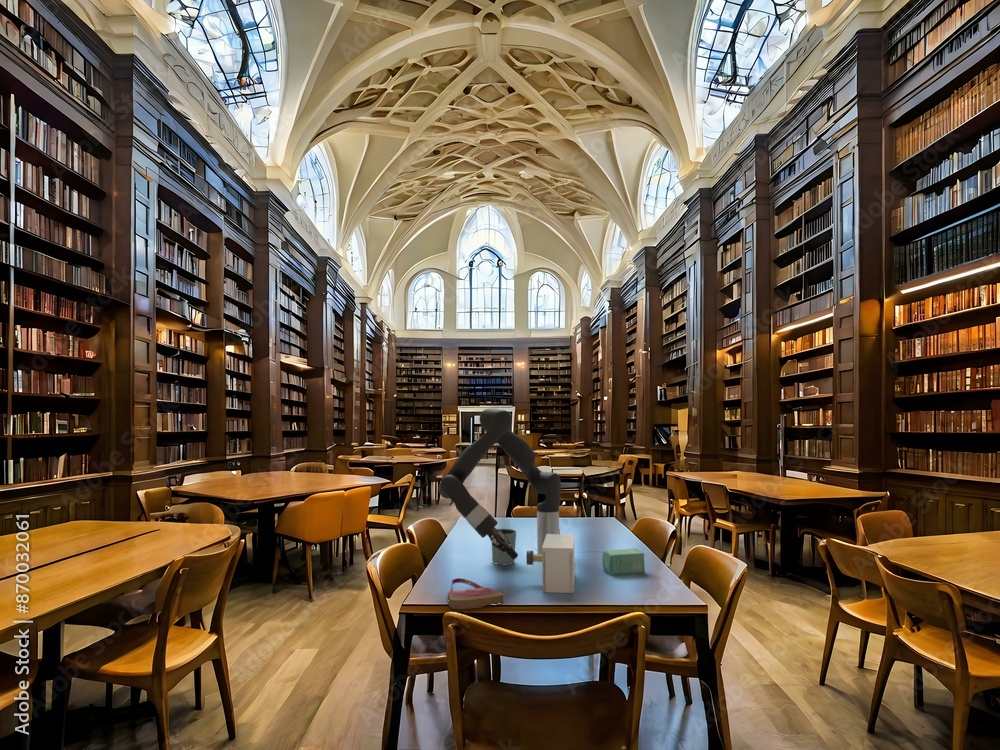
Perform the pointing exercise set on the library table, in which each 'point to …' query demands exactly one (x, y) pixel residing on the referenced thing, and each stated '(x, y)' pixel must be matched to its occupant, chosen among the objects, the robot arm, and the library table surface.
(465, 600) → the shoulder bag
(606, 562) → the box
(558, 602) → the library table surface
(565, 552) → the console
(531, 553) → the knob
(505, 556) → the grey green cup
